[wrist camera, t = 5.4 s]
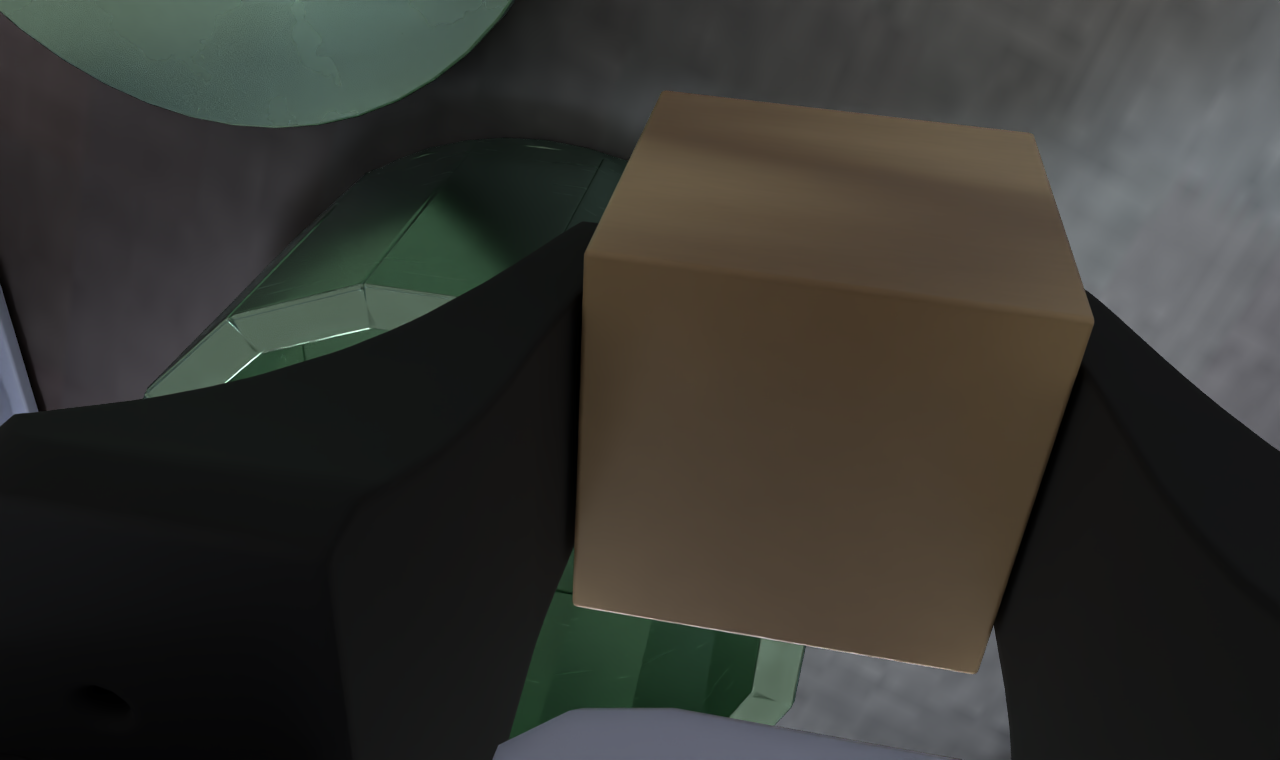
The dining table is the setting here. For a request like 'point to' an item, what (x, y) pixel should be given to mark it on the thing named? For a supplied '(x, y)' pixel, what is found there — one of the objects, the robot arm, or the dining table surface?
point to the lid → (261, 51)
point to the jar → (426, 279)
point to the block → (821, 376)
